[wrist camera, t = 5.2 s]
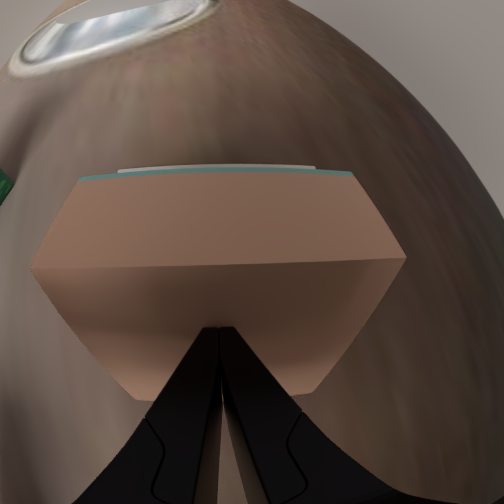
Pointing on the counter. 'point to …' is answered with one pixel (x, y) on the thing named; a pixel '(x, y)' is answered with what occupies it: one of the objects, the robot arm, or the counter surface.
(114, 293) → the tan and teal block
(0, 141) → the counter surface
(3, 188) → the coffee box
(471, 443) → the counter surface
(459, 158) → the counter surface
